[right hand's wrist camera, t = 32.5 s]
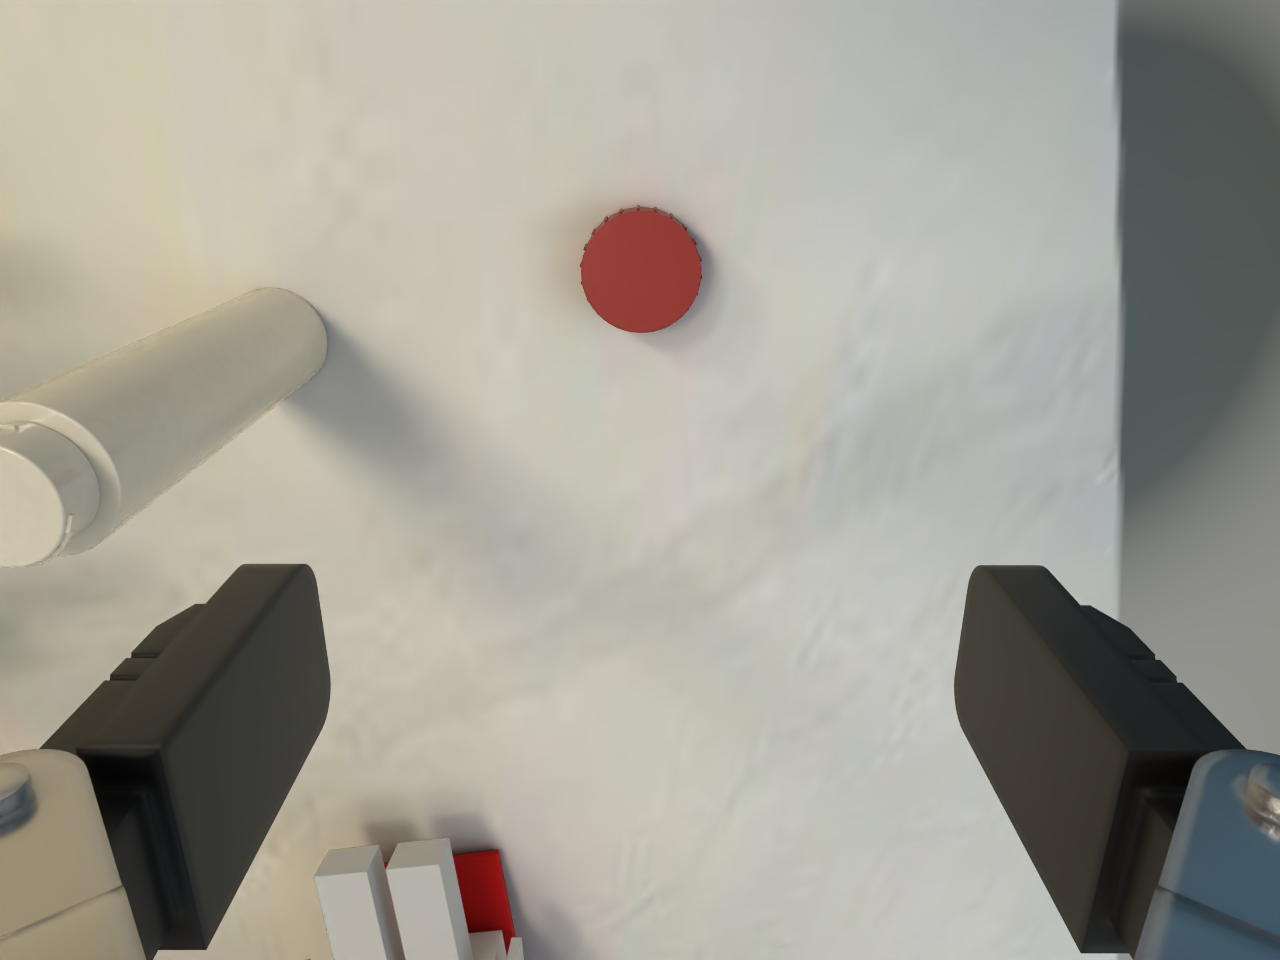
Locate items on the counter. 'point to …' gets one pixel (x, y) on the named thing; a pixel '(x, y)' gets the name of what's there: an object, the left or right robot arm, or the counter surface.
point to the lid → (641, 270)
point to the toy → (416, 904)
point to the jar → (144, 420)
